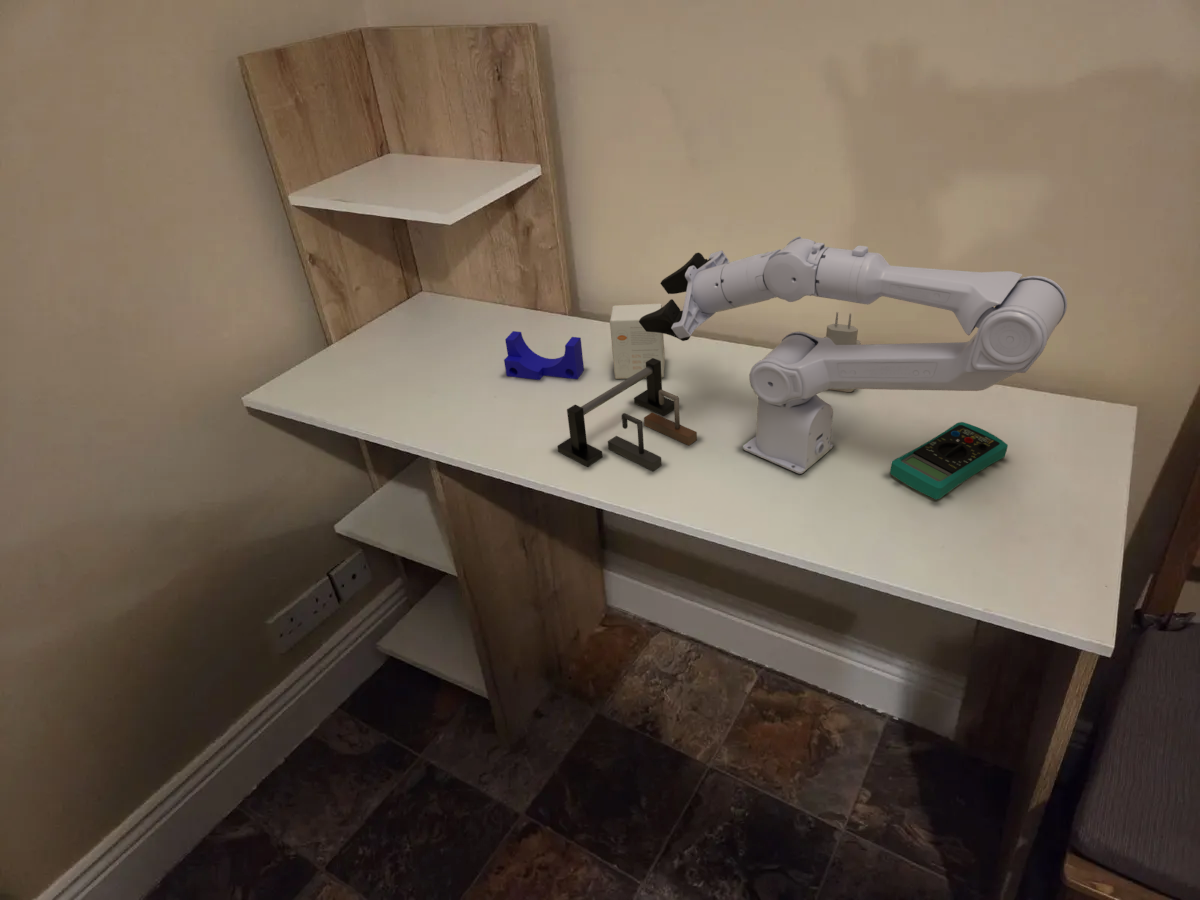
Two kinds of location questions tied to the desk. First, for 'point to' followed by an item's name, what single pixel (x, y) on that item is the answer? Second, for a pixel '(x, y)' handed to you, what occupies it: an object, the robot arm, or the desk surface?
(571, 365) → the blue curved cradle bracket
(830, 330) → the power adapter
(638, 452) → the black hanger
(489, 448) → the desk surface
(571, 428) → the rail stand
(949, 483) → the digital multimeter
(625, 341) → the small box
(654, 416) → the walnut hanger
